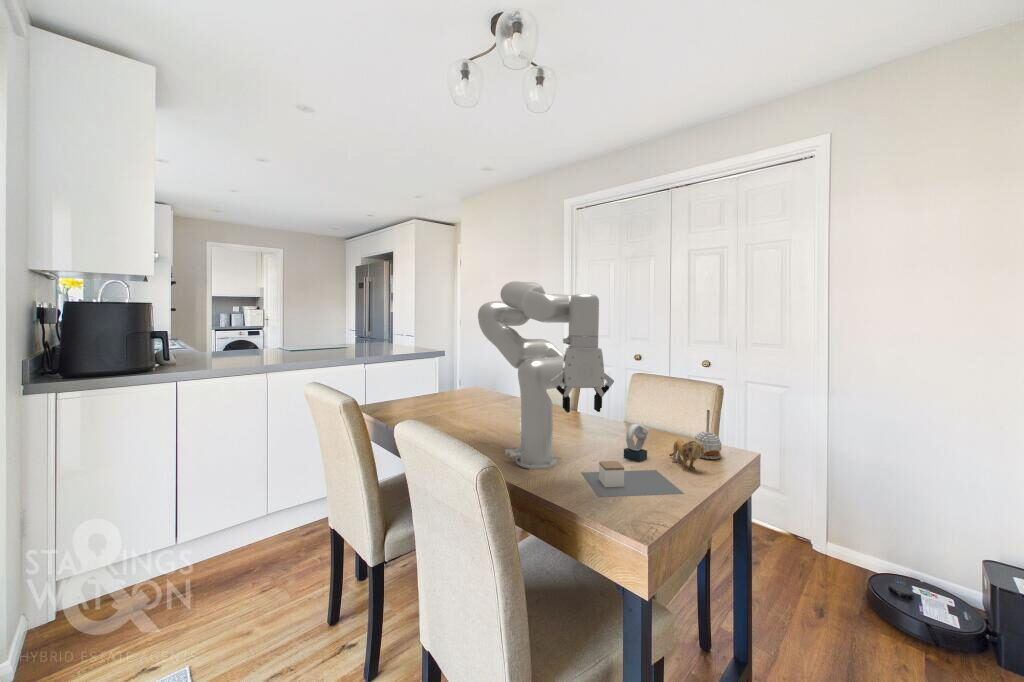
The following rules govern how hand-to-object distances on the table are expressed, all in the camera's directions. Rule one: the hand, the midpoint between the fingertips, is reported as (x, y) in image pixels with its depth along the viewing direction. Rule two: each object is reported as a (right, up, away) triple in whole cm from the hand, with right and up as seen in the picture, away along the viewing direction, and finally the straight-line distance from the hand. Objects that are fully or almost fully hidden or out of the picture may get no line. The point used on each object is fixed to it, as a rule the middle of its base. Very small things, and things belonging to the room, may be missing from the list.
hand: (582, 410), depth 108 cm
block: (+8, -19, +2) cm, 21 cm away
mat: (+13, -20, +3) cm, 24 cm away
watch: (+20, -19, +21) cm, 35 cm away
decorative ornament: (+44, -19, +25) cm, 54 cm away
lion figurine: (+34, -19, +16) cm, 42 cm away
